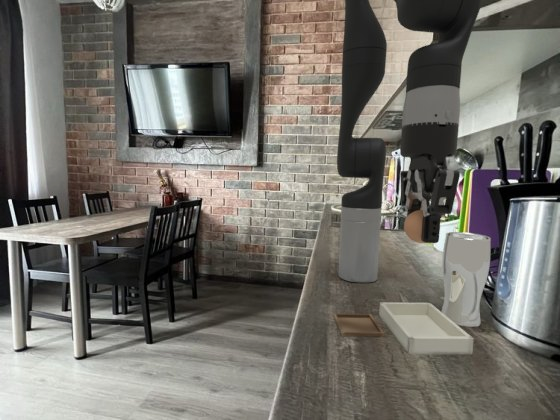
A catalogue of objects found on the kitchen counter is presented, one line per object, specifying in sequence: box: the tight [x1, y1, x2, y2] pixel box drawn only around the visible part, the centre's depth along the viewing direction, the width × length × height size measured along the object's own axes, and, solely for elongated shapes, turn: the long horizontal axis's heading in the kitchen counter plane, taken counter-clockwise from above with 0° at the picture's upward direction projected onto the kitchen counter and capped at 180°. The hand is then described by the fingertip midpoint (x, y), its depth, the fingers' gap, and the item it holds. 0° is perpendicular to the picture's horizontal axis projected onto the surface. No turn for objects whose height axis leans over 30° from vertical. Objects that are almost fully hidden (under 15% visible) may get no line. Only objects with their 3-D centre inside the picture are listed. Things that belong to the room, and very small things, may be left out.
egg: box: [403, 210, 426, 244], centre depth 47 cm, size 5×5×5 cm
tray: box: [378, 301, 475, 356], centre depth 49 cm, size 12×9×3 cm
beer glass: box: [440, 231, 492, 328], centre depth 54 cm, size 7×7×15 cm
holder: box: [332, 313, 386, 338], centre depth 51 cm, size 7×7×1 cm
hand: (421, 237), depth 48 cm, fingers closed on egg, 5 cm apart
